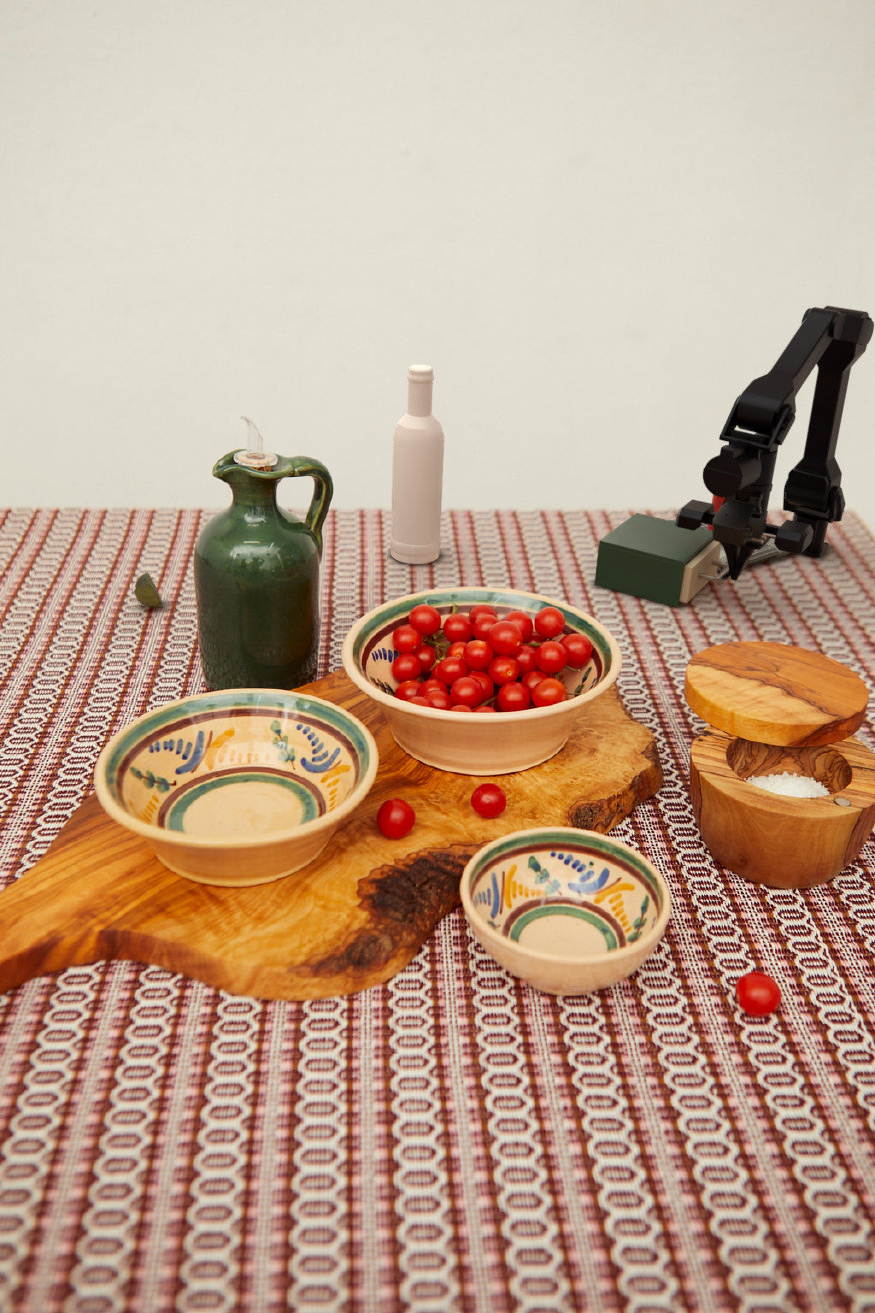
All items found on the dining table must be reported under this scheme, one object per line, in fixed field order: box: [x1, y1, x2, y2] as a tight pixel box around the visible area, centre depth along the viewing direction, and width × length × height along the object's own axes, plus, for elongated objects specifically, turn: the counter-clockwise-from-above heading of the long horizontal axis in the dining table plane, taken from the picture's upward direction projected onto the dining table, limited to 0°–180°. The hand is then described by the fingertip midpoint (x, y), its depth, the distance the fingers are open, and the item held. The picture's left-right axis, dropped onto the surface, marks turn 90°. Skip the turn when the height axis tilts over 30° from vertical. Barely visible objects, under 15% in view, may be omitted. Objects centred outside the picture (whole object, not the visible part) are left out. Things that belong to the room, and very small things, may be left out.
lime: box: [133, 572, 164, 609], centre depth 154 cm, size 4×5×5 cm
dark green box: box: [593, 512, 713, 609], centre depth 168 cm, size 13×14×7 cm
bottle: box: [389, 363, 445, 565], centre depth 168 cm, size 8×8×30 cm
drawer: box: [679, 540, 731, 604], centre depth 167 cm, size 16×13×6 cm
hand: (734, 579), depth 163 cm, fingers closed
